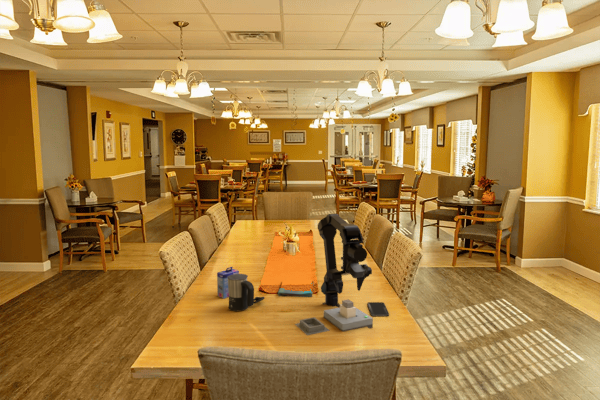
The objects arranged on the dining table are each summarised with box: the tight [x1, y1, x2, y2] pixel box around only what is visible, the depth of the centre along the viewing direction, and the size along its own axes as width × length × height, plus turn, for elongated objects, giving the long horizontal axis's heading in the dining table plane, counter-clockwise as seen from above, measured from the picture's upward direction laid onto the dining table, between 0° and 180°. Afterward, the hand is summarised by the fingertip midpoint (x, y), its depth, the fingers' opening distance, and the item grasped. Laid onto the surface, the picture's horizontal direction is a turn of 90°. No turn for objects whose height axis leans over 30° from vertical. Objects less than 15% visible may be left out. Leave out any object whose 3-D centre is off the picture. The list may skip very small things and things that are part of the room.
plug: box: [339, 299, 357, 319], centre depth 187 cm, size 6×4×8 cm, turn 25°
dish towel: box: [277, 283, 314, 298], centre depth 231 cm, size 17×23×2 cm
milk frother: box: [227, 273, 265, 312], centre depth 207 cm, size 14×16×15 cm
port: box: [323, 306, 374, 332], centre depth 188 cm, size 16×14×4 cm
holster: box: [294, 316, 330, 336], centre depth 182 cm, size 12×10×3 cm
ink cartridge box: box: [216, 266, 240, 300], centre depth 222 cm, size 10×6×14 cm, turn 137°
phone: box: [366, 301, 390, 317], centre depth 202 cm, size 8×1×15 cm
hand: (349, 292), depth 188 cm, fingers open, 9 cm apart
